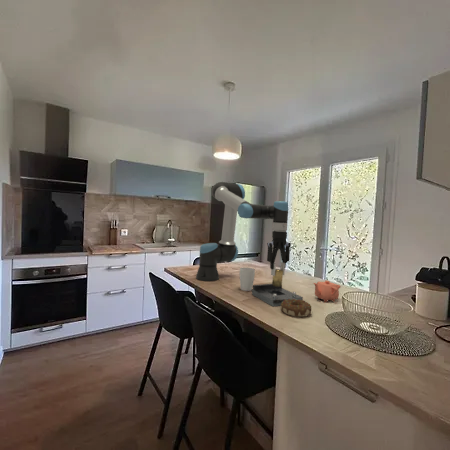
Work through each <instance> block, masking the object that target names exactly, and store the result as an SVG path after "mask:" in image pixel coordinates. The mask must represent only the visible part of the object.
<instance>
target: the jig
mask: <svg viewBox="0 0 450 450" xmlns="http://www.w3.org/2000/svg"><path fill="white" fill-rule="evenodd" d="M251 295H252V296H253V297H255V298H257V299H259V300H261V301H262V302H264V303H266V304H268V305H269V306H271V307H273V308H274V307H281V303H282V302H283V301H284V300H288V299H297V300H303V301H304V297H303V296H301V295H299V294H297V292H296V291H290V290H288V289H285V288H283V285H282V286H273V285H272V283H264V284H253V287H252V290H251Z"/></svg>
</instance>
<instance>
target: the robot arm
mask: <svg viewBox="0 0 450 450" xmlns="http://www.w3.org/2000/svg"><path fill="white" fill-rule="evenodd" d="M211 195H212V197H213V198H214V199H215V200H217V201H218V202H222V203H223V204H224V212H223V222H222V232H221V240H219V241H218V243H216V242H210V243H203V244H201V245H200V248H199V264H198V265H199V266H198V269H197V271H196V274H195V275H196V276H195V279H196V280H198V281H201V282H215V281H218V280H219V278H220V275H219V272H218V263H229V262H234V261H235V260H237V258H238V256H239V249H238V246H237V244H236V242H235V241H234V240H235V234H236V232H235V231H236V224H237V216H239V218H240V219H241V218H242V219H259V220H260V219H261V220H272V230H273V231H272V235H271V236H272V237H271V238H272V240H271V241H270V242H267V243H266V244H267V257H266V261H267V262H269V264H270V265H269V269H270V276H272V277H273V276H275V269H277V268H276V266H277V265H276V264H277V263H275V262H276V258H277V254H278V252H279V251H280V258H281V261H280V266H279V267H280V269H279V270H283V276H285V269H286V265H287V263H288V262H289V261H290V255H291V254H290V253H291V244H292V243H291V242H287V238H288V232H287V231H288V221H289V210H290V209H289V202H287V201H283V200H282V201H280V200H278V201H276V200H275V201H274V202H273V205H272V204H271V205H268V204H267V205H265V204H254V203H250V202H249V201H247V200H245V197H246V190H245V188H244V186H243V184H241V183H236V182H235V183H234V182H226V181H219V182H218V181H217V182H216V183H214V185H213V186H212V188H211Z"/></svg>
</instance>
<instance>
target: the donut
mask: <svg viewBox="0 0 450 450" xmlns="http://www.w3.org/2000/svg"><path fill="white" fill-rule="evenodd" d="M280 310H281V311H282V312H283V313H284V314H286V315H288V316H291V317H295V318H299V317H300V318H301V317H304V318H305V317H307V316H309V315H311V312H312V305H311V304H310V303H309V302H308V301H306V300H304V299H303V300H297V299H288V300H284V301H283V302H282V303H281V306H280Z"/></svg>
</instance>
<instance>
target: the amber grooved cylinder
mask: <svg viewBox="0 0 450 450" xmlns="http://www.w3.org/2000/svg"><path fill="white" fill-rule="evenodd" d="M283 277H284V275H283V270H280V269H277V268H275V276H273V275H272V281H271V284H272V285H273V286H282V287H283Z"/></svg>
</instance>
